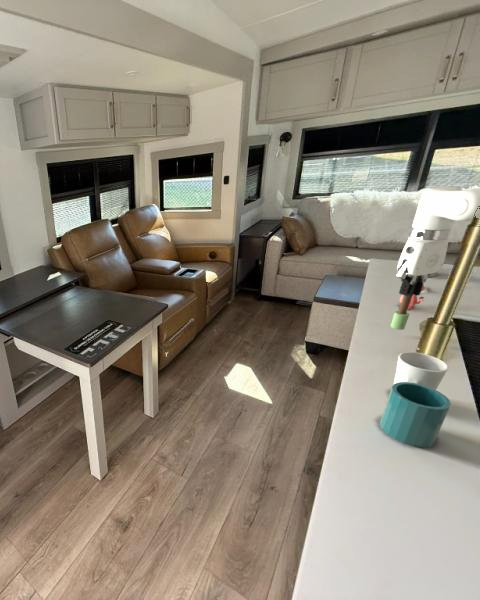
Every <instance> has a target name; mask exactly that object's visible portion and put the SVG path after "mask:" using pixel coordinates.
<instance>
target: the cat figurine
mask: <svg viewBox="0 0 480 600" xmlns="http://www.w3.org/2000/svg"><path fill="white" fill-rule="evenodd" d="M400 288H401V286H400ZM424 289H425V290H426V288H425V285H424V284H423V287H422V290H421V292H422V291H423V290H424ZM403 296H404V295H402V294H401V296H400V297H399V303H400V304H401V302H402V299H403ZM418 299H419V301H418ZM424 299H425V297H424V296H420V297H418V295H414V294H413V296H412V298H411V301H410V304H409V307H408V310H407V311H412V309H414V307H413V306H416V305H420V304H422V303H423V302H424ZM399 308H400V306H399V307H398V309H399Z"/></svg>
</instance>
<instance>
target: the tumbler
mask: <svg viewBox="0 0 480 600" xmlns="http://www.w3.org/2000/svg"><path fill="white" fill-rule="evenodd" d="M393 384H394V383H393ZM451 406H452V402H451V400H450V399H449V398H448V396H446V395H445V394H443V393H442V392H441V391H439V390H437V389H436V390H434V389H432V388H430V387H427V386H424V385H421V384H416V383H410V382H399V383H396V384H394V385H392V386H391V388H390V391H389V394H388V397H387V400H386V403H385V405H384V409H383V412H382V415H381V417H380V421H379V427H380V428H381V429H382V431H383V432H384V433H386V435H388V436H389V437H391V438H392V439H394V440H395V441H398V442H400V443H402V444H404V445H407V446H412V447H416V448H430V447H432V446H433V445H435V442H436V439H437V437H438V435H439V433H440V431H441V428H442V426H443V423H444V421H445V419H446V417H447V415H448V412H449V410H450V408H451Z"/></svg>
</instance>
